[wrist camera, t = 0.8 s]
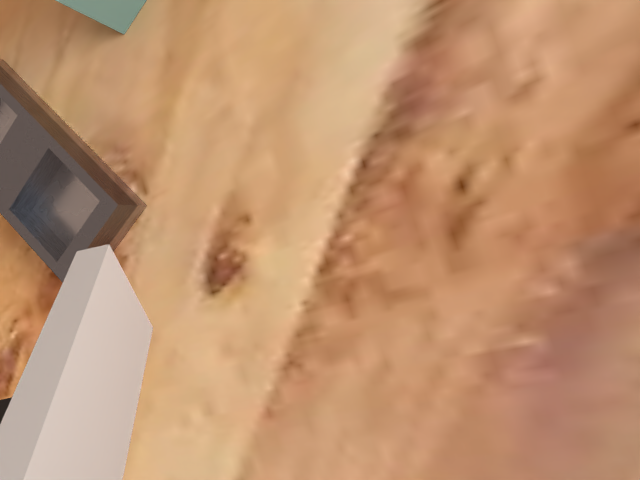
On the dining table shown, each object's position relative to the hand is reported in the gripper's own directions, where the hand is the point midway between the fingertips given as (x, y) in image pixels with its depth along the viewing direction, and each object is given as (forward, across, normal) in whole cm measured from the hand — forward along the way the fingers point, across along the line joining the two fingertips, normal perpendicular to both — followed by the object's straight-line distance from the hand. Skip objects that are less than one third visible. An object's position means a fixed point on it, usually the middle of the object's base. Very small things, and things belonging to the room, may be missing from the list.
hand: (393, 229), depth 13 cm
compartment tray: (+27, -21, -7) cm, 35 cm away
